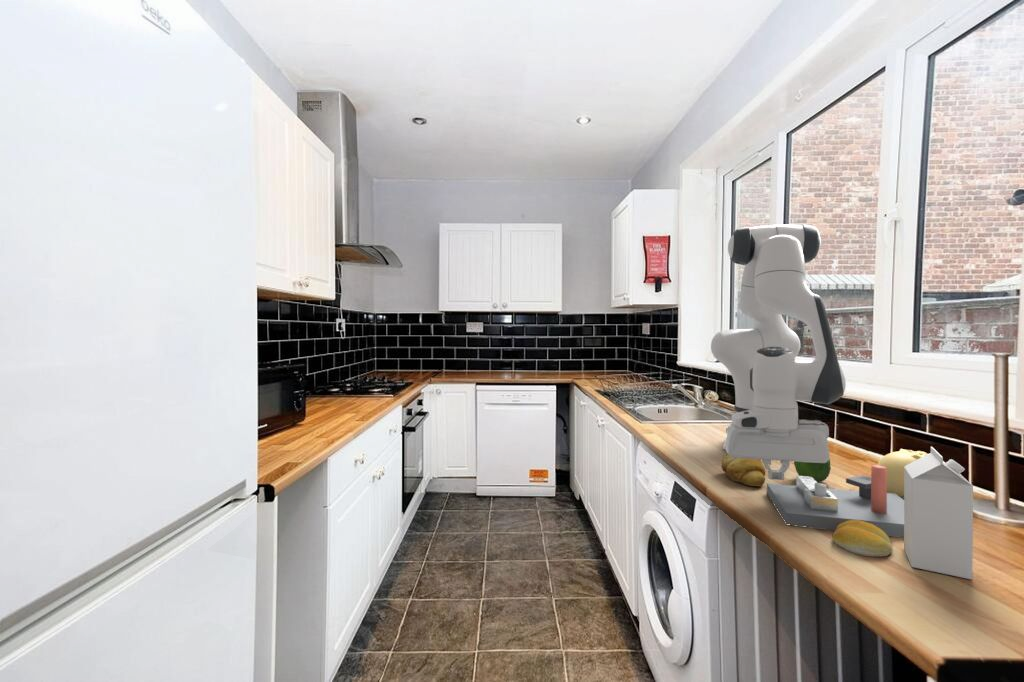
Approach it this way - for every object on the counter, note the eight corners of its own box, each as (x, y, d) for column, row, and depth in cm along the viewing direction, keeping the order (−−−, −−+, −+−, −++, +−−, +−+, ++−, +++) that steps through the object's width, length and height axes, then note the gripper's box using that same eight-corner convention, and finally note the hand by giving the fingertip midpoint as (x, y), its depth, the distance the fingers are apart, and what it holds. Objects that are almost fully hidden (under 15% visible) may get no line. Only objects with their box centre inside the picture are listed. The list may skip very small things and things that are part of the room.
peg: (868, 508, 89) (869, 464, 89) (883, 509, 89) (883, 465, 88) (874, 513, 87) (874, 468, 87) (889, 514, 86) (889, 469, 86)
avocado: (790, 475, 116) (790, 430, 116) (825, 478, 114) (825, 432, 113) (798, 485, 109) (798, 438, 109) (836, 489, 106) (835, 440, 106)
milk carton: (911, 568, 72) (912, 454, 72) (903, 549, 78) (903, 443, 77) (972, 581, 68) (973, 460, 68) (959, 560, 74) (960, 449, 73)
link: (837, 511, 88) (837, 499, 88) (811, 508, 90) (811, 496, 90) (815, 487, 101) (815, 477, 101) (792, 485, 102) (792, 475, 102)
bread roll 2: (829, 548, 79) (829, 526, 79) (839, 531, 86) (838, 511, 86) (889, 565, 74) (889, 541, 73) (894, 545, 80) (894, 524, 80)
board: (767, 493, 104) (766, 464, 104) (895, 504, 96) (895, 473, 96) (786, 525, 88) (786, 490, 88) (942, 541, 80) (942, 503, 80)
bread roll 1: (773, 490, 107) (773, 458, 106) (730, 488, 109) (730, 456, 108) (755, 473, 119) (755, 443, 119) (717, 471, 121) (717, 442, 121)
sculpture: (961, 508, 94) (961, 458, 94) (896, 505, 96) (896, 456, 96) (922, 488, 105) (923, 444, 105) (865, 486, 108) (865, 442, 107)
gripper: (823, 417, 99) (824, 478, 99) (724, 414, 106) (725, 471, 106) (834, 423, 93) (835, 487, 93) (728, 419, 100) (729, 479, 100)
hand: (775, 479), depth 100 cm, fingers closed
